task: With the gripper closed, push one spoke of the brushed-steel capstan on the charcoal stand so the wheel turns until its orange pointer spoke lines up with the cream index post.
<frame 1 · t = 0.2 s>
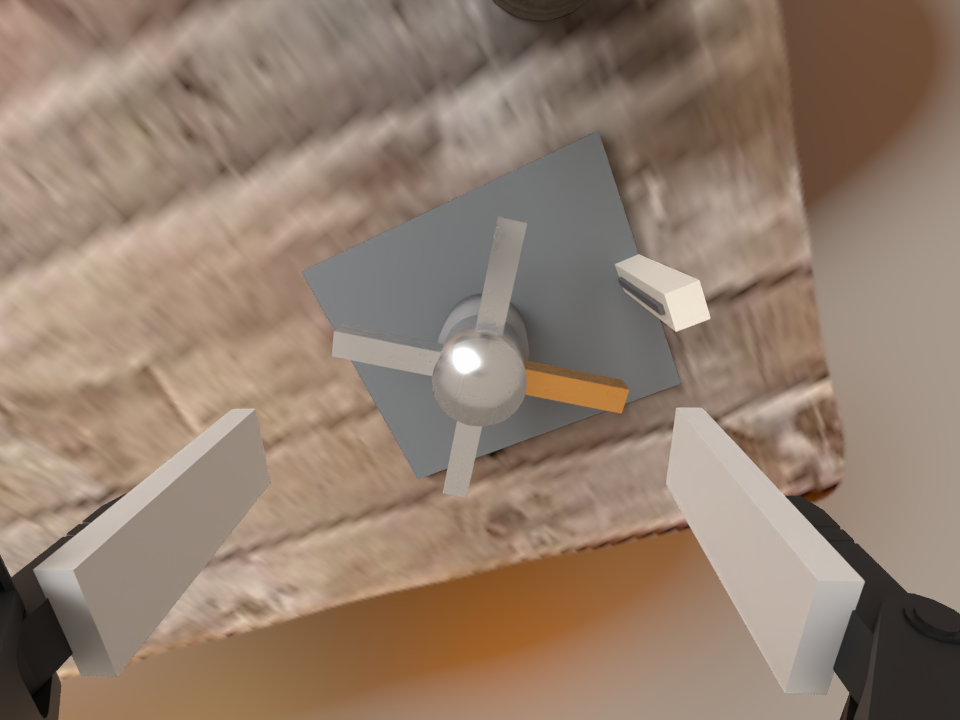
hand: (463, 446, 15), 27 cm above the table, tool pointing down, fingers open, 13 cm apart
capstan: (481, 367, 32), point 10 cm above the table, hinge at -35.0°
stand: (485, 328, 41), on the table
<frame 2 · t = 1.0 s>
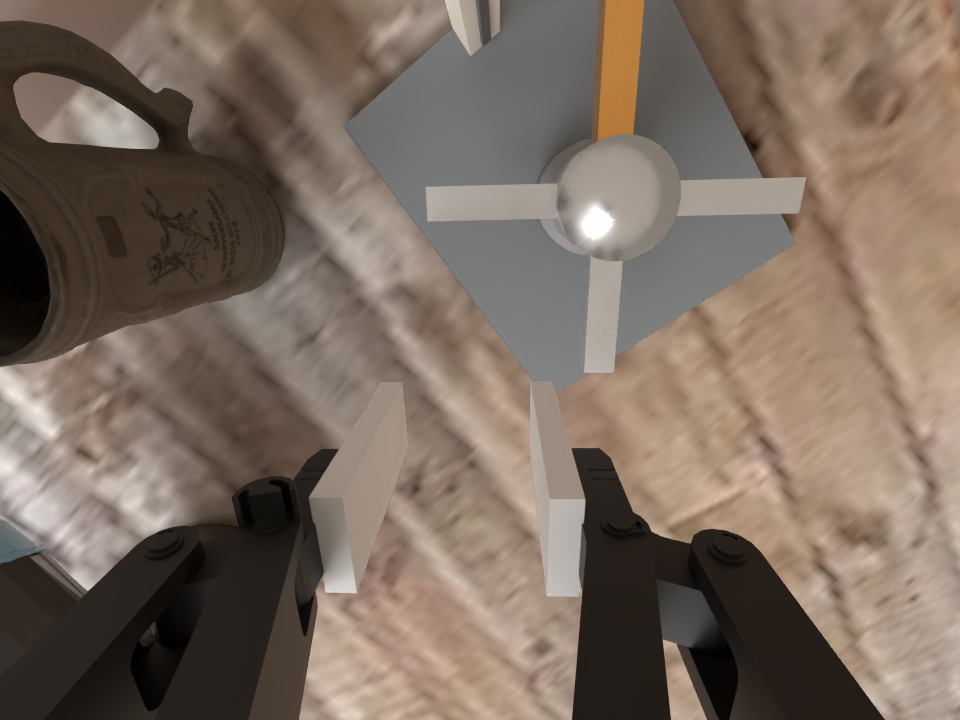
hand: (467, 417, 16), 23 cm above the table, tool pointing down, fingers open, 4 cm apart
capstan: (606, 199, 26), point 10 cm above the table, hinge at -35.0°
stand: (578, 197, 35), on the table
beer stein: (213, 196, 36), on the table
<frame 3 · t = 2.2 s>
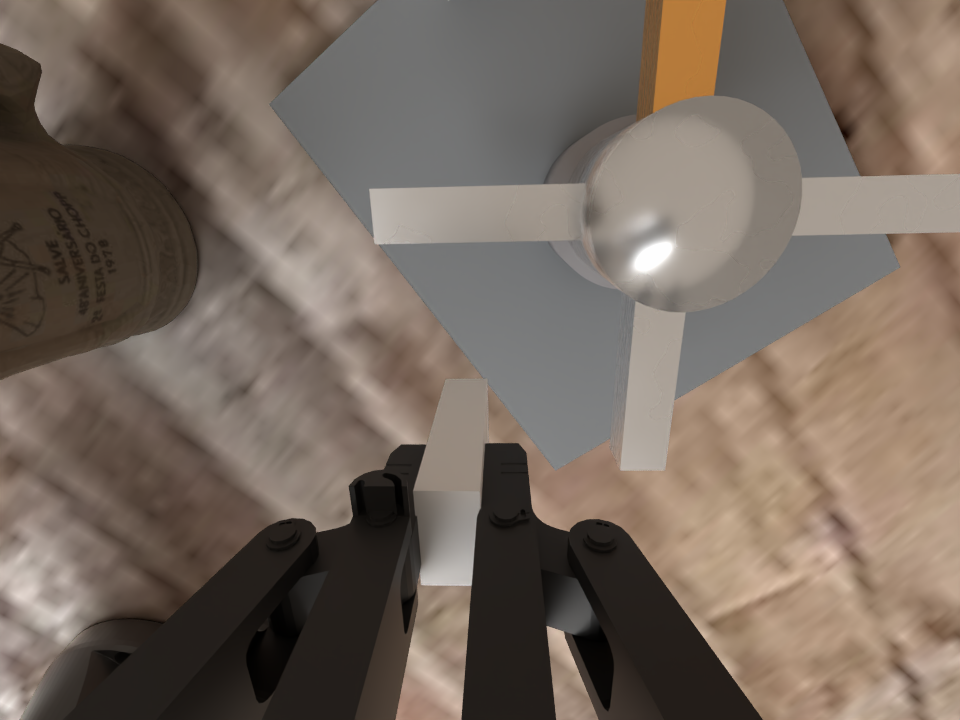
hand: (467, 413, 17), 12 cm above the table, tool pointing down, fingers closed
capstan: (660, 209, 16), point 10 cm above the table, hinge at -35.0°
stand: (600, 204, 25), on the table
beer stein: (99, 202, 26), on the table
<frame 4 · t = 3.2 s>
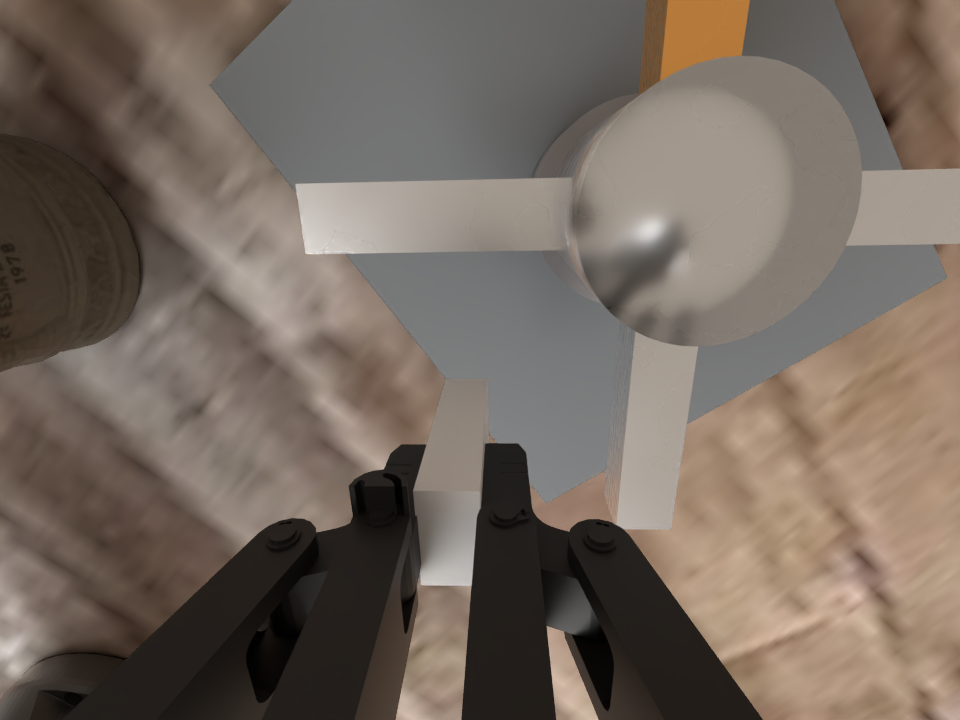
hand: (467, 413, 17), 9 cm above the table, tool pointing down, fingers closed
capstan: (667, 210, 13), point 10 cm above the table, hinge at -35.0°
stand: (597, 203, 22), on the table
beer stein: (26, 199, 23), on the table
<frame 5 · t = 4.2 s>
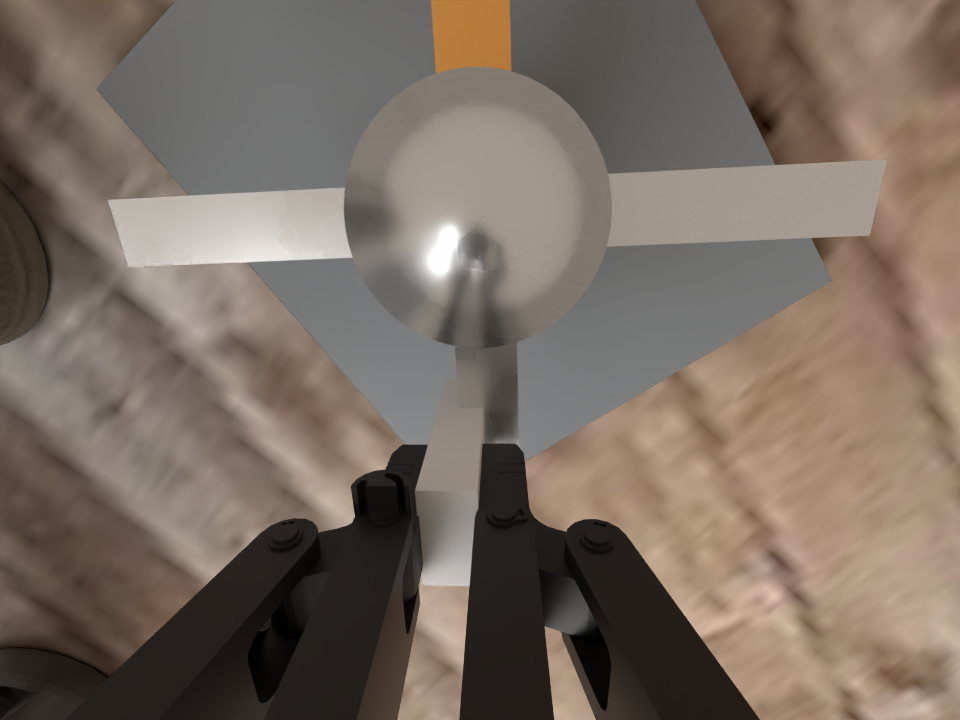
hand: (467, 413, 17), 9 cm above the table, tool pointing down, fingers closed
capstan: (481, 215, 13), point 10 cm above the table, hinge at -33.3°, touching gripper
stand: (489, 206, 22), on the table
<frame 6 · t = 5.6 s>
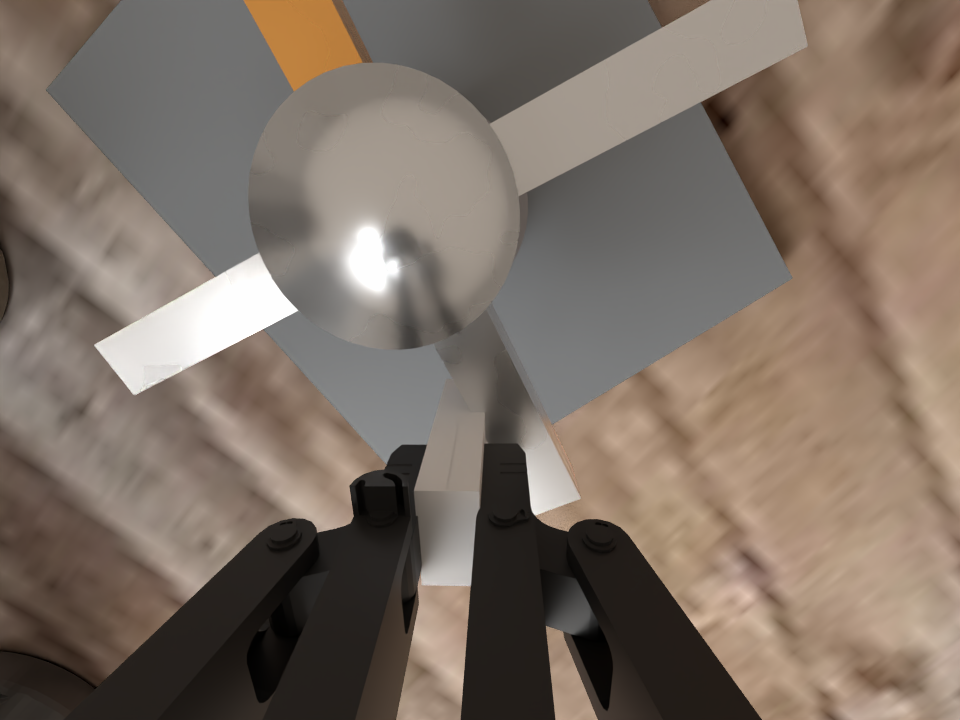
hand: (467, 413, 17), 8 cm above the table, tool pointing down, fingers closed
capstan: (409, 214, 13), point 10 cm above the table, hinge at -10.0°, touching gripper
stand: (448, 205, 22), on the table
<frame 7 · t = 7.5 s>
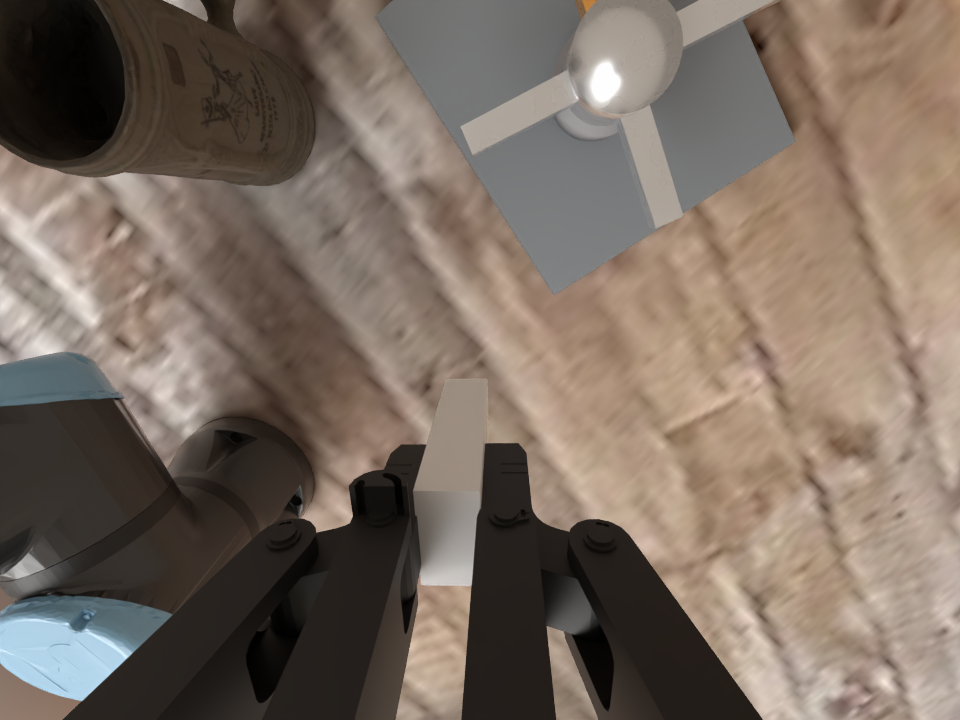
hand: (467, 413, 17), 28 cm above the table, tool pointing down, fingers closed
capstan: (615, 65, 28), point 10 cm above the table, hinge at -10.0°
stand: (591, 95, 37), on the table
beer stein: (251, 88, 39), on the table
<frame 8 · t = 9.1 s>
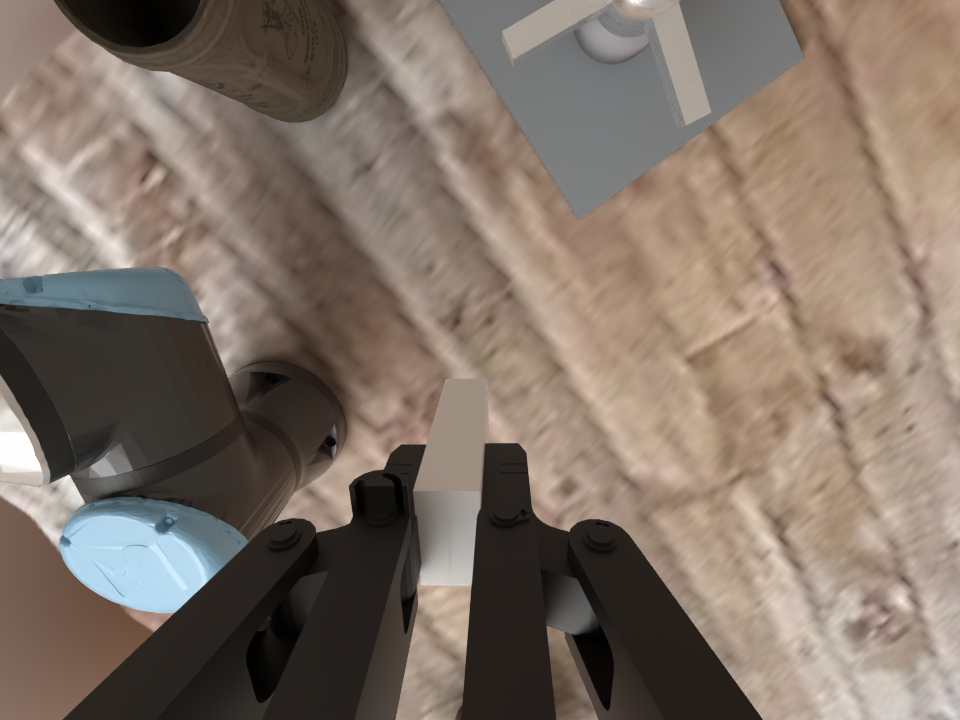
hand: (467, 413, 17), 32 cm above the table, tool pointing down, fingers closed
stand: (611, 21, 39), on the table
beer stein: (284, 26, 41), on the table
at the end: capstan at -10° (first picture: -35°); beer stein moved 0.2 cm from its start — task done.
